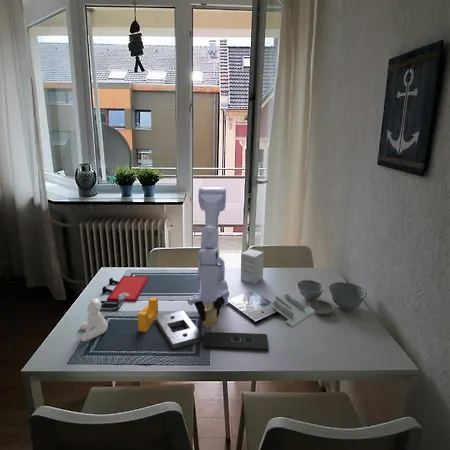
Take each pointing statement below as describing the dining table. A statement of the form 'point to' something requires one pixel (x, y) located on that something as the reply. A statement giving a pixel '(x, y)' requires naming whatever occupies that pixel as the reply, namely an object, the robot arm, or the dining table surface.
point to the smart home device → (235, 341)
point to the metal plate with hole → (179, 337)
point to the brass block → (210, 316)
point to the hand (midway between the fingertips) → (208, 318)
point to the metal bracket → (291, 309)
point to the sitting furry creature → (93, 322)
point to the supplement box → (252, 266)
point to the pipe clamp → (148, 315)
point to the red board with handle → (123, 291)
